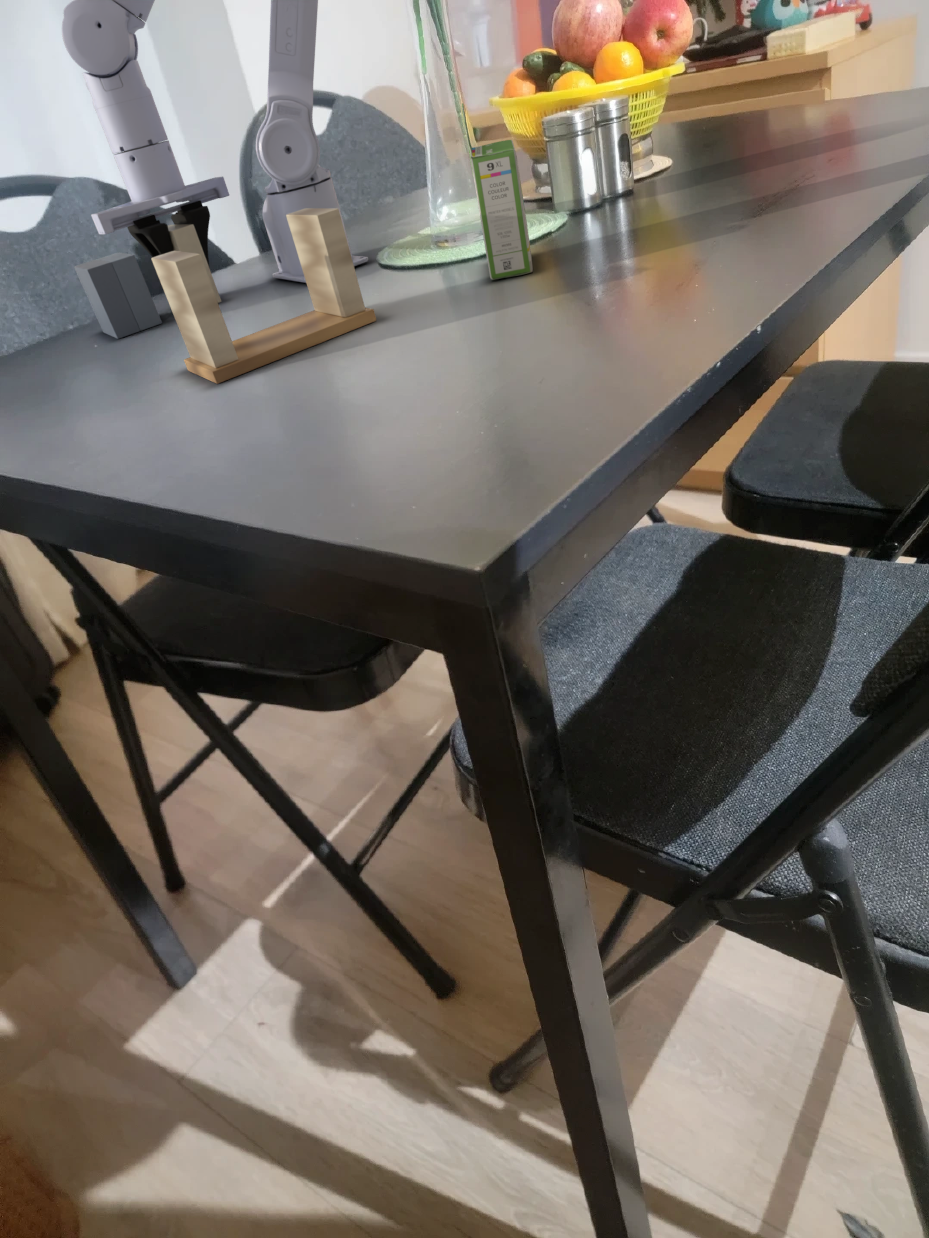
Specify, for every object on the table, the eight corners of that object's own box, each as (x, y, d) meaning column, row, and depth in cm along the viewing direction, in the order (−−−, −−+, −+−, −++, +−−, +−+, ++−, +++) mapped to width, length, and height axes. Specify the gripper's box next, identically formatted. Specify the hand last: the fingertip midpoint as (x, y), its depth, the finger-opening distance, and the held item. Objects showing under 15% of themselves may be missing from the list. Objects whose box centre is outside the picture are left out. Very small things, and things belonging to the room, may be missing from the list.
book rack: (187, 371, 70) (142, 259, 64) (339, 312, 75) (308, 206, 70) (217, 384, 64) (170, 264, 59) (376, 320, 70) (347, 206, 65)
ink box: (535, 273, 72) (508, 96, 65) (490, 282, 73) (458, 108, 65) (531, 255, 78) (506, 91, 70) (490, 264, 78) (461, 102, 71)
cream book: (179, 306, 94) (150, 231, 89) (199, 298, 95) (171, 224, 90) (201, 309, 90) (172, 231, 85) (221, 301, 91) (193, 224, 86)
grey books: (103, 332, 90) (73, 266, 86) (146, 317, 92) (118, 252, 88) (117, 339, 86) (86, 269, 82) (162, 323, 88) (134, 254, 84)
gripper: (86, 163, 77) (147, 309, 85) (220, 127, 84) (265, 266, 92) (63, 167, 82) (122, 305, 90) (192, 133, 89) (237, 264, 96)
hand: (193, 285), depth 91 cm, fingers closed on cream book, 2 cm apart
